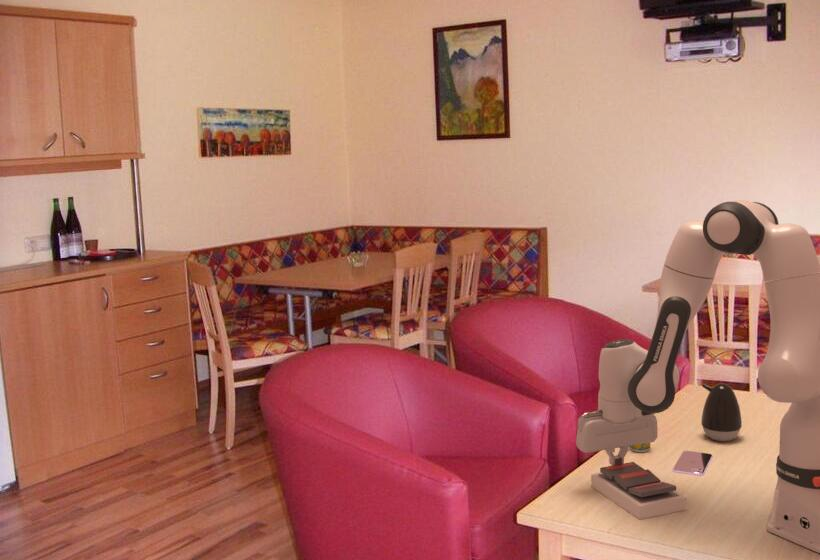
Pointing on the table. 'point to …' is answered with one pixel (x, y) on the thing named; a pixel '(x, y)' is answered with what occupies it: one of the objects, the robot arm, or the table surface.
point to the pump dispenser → (721, 413)
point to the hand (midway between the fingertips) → (616, 464)
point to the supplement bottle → (640, 447)
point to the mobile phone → (692, 463)
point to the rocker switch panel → (639, 498)
